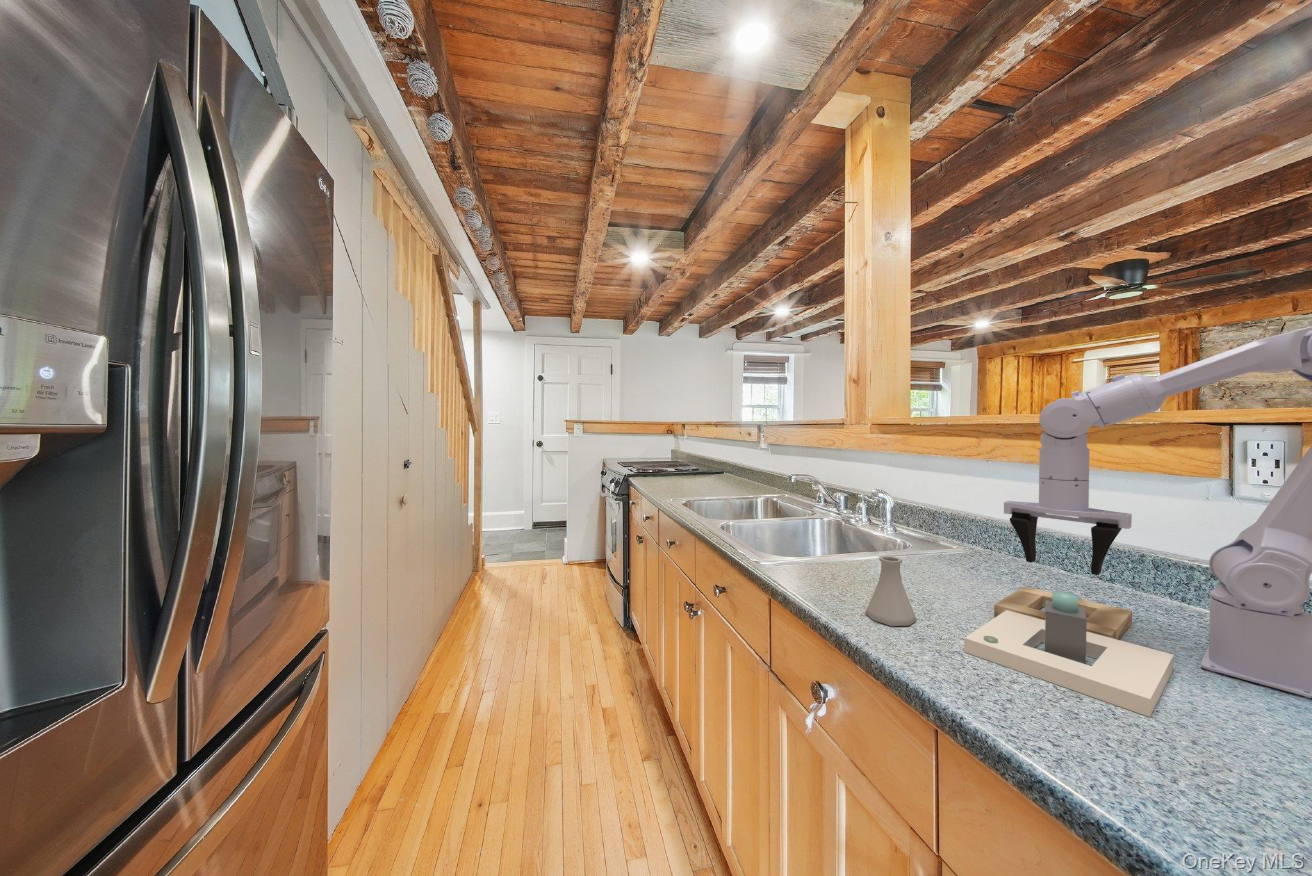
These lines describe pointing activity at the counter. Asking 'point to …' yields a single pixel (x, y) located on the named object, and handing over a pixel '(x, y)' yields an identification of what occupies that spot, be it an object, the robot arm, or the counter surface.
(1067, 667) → the port dock
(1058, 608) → the plug
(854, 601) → the counter surface
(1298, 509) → the robot arm
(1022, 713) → the counter surface
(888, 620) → the flask
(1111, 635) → the slotted wooden base
